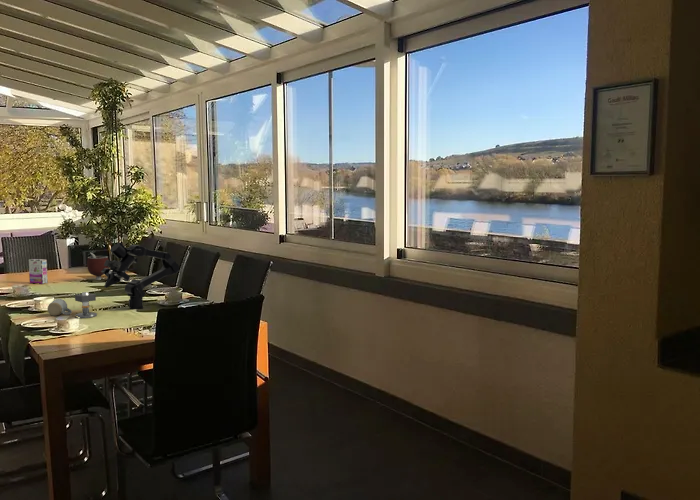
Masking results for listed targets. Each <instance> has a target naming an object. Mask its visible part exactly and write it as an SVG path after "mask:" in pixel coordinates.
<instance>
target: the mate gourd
mask: <svg viewBox="0 0 700 500" xmlns="http://www.w3.org/2000/svg"><path fill="white" fill-rule="evenodd" d="M89 254H90V256H88V257H87V260H86V261H87V263H86V264H87V265H86V267H87V272H89V274H90V275H92V276H95V277H96V278H95V279H96V280H101V279H102V276H103V275H104V276H105V274H104V273H102V272H101V271H102V270H103V269H104V268H108V269H110V268H109V267H107V266H104V264H105V261H106V260H109V256H107V255H95V254H94V253H92V252H89Z"/></svg>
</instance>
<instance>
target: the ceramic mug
mask: <svg viewBox="0 0 700 500" xmlns="http://www.w3.org/2000/svg"><path fill="white" fill-rule="evenodd" d="M46 310H47V313H48V314H49V315H51V316H53V317H55V316H56V317H57V316H60V315H61V314H63V315H67V316H69V315H71V314H73V313H72V312H73V311H72V309H70V308H68V304H67V301H66V300H65V299H62V298H56V299H54V300H52V301H51V302H50V303H49V304H48V305H47V309H46Z"/></svg>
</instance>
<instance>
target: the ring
mask: <svg viewBox="0 0 700 500" xmlns="http://www.w3.org/2000/svg"><path fill="white" fill-rule="evenodd" d="M88 294H89V295H84V296H83V295H82V293H79V294H74V300H75V302H78V303H82V302H88V301H89V302H94V301H96V300H97V297H96V294H95V293H90V292H88Z"/></svg>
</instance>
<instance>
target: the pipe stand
mask: <svg viewBox="0 0 700 500" xmlns="http://www.w3.org/2000/svg"><path fill="white" fill-rule="evenodd" d="M88 293H89V292H87V291H84V292H83V291H82V292H81V294H82V295H83V296H84V295H89V294H88ZM81 303H82V305H81V308H82V312H79V313H76V314H75V315H74V317H75V316H78V317H80V318H79V319H88V318H89V319H90V318H95V317H97V316H98V313H97V312H93V311H91V312H90V304H89V303H90V301H88V302H81Z"/></svg>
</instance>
